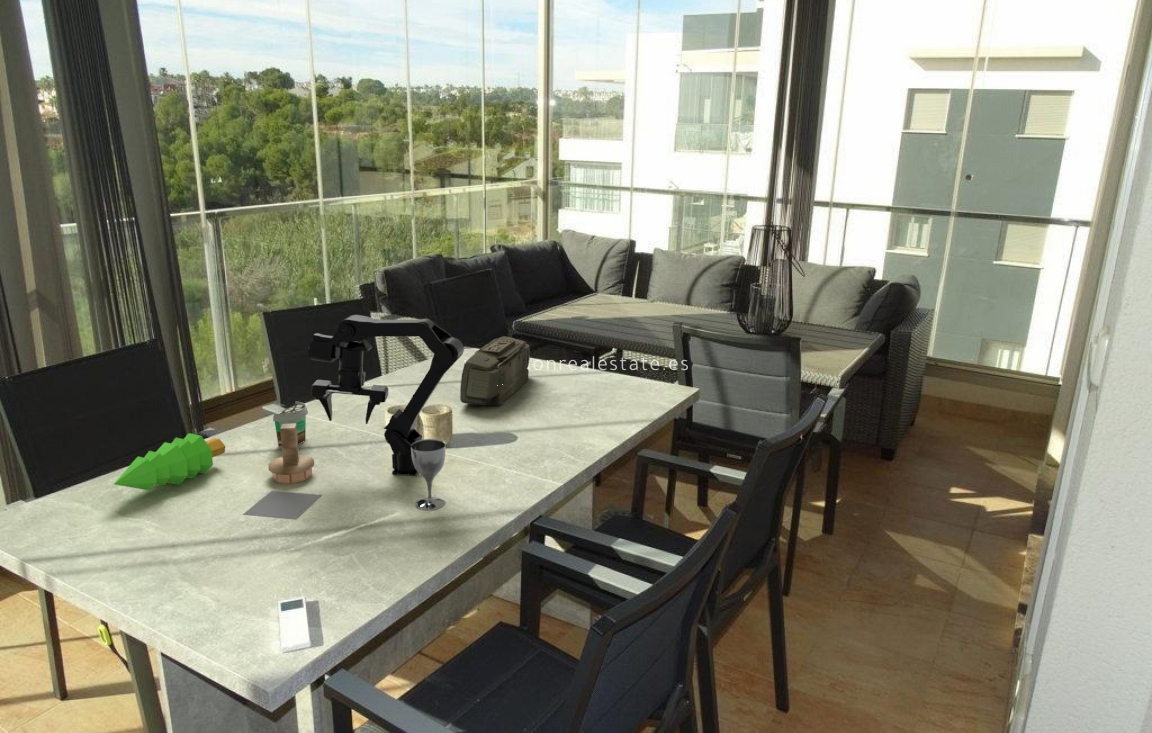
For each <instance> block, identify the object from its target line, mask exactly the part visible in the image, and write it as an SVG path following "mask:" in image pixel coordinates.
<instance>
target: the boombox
mask: <svg viewBox="0 0 1152 733" xmlns="http://www.w3.org/2000/svg"><path fill="white" fill-rule="evenodd" d="M530 356H531V349H530V345H529V344H527V341H524V340H521V339H517V338H514V337H509V336H500V337H498V338H494V339H493V340H491V341H490V342H488V343H487V344H485V345H484V346H482V347H481V348H479V349H478V350H477V351H475V352H474V354H472V356H470V357H469V358H468V359H467V361H465V363H464V365H463V368H462V372H461V377H460V378H461V379H460V389H459V390H460V397H459V398H460V402H461V403H462V404H467V405H470V404H471V405H478V406H479V405H481V406H497V407H500V406H502V405H503V404H504V403H505V402H506V401H507V400H508V399H509V398H511V396H513V394H515V393H516V392H517V391H518V390H520V388H521V387H522V386H524V385H525V384H526V383H527V382H528V381H529V373H530V372H529V368H528V367H529V365H530V358H531V357H530ZM502 384H503V385H502ZM497 385H498V386H497Z"/></svg>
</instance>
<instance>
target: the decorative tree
mask: <svg viewBox="0 0 1152 733" xmlns="http://www.w3.org/2000/svg"><path fill="white" fill-rule="evenodd" d="M225 453H226V445H225V444H224V442H223V441H222V439H220V438H217V437H213V438H212V439H209V440H207V441H206V440H205V439H204V438H203V436H202V435H198V434H195V433H187V434H186V436H185V437H184V438H179V437H175V438H174V439H173V441H172V442H171V443H170V442H163V443H162V444H161V446H160V447H159V448H158V449H157V450H156V451H152V450H148V452H147V453H146V454H145V456H144V457H142V456H137V457H136V458H135V459H134V460H133V461H132V462H131V464H130V465H129V466H127V468H126V469H125V471H124V472H123V473H122V474H121V475H120V476H119V477H118V479H117V480H115V482H114V483H113V485H115V486H122V487H126V488H133V489H138V490H143V491H144V490H145V491H152V490H153V488H154V487H155V485H158V486H165V485H166V484H167V483H168V484H172V485H177V486H180V485H181V484H182V483H183V482H184V480H186V479H187V478H188V479H191V480H194V478H195V477H196V476H197V475H198V474H203V475H204V474H207V472H208V471H209V470H210V469H211V468H212V466H213V465H214V462H213V461H214V460H213V458H215V457H217V456H221V455H222V454H223V455H224V454H225Z"/></svg>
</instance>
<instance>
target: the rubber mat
mask: <svg viewBox="0 0 1152 733" xmlns="http://www.w3.org/2000/svg"><path fill="white" fill-rule="evenodd" d="M322 496H323V495H322V494H313V493H303V492H301V493H300V492H291V491H279V490H271V491H269V492H268V493H266V495H265V496H264V497H262V498H260V499H259V500H258V501H257V502H256V503H254V505H252V506H251V507H249V509H248V510H246V511H245V512H243V514H242V515H244V516H254V517H255V516H256V517H264V518H265V517H266V518H277V519H285V520H286V519H288V520H297V519H299V518H300V517H301V516H302V515H303V514H304V513H305V512H306V511H307V510H308V509H309V508H310V507H312V505H314V504H315V503H316V502H317V501H318V500H319V499H320V498H321V497H322Z"/></svg>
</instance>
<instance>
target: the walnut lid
mask: <svg viewBox="0 0 1152 733" xmlns="http://www.w3.org/2000/svg"><path fill="white" fill-rule="evenodd" d="M280 432H281V444H282V446H281V452H282V453H281V455H282V456H280V457H278V458H275V459H273V460H271V461H270V462H269V463H268V466H267V468H268V471H269V472H270V473H271V474H272V473H275V474H281V475H290V474H297V473H301V472H305V471H307V470H309V469H311V468H312V469H313V468H314V466H315V460H314V457H311V456H309V455H304V454H299V453H300V452H299V451H300V450H299V444H298V438H297V425H296V423H293V424H282V426H281V428H280Z"/></svg>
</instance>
